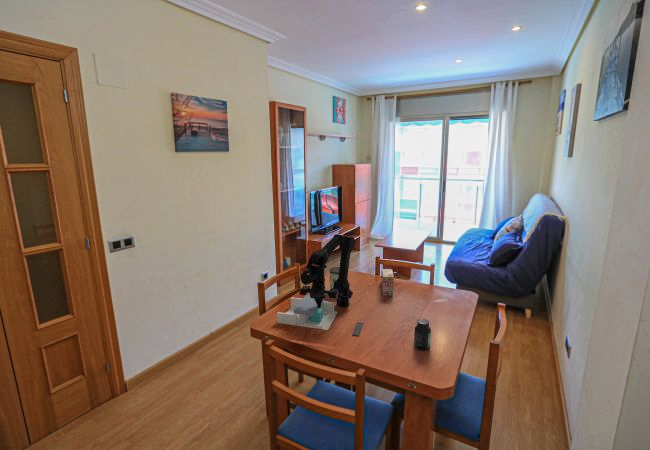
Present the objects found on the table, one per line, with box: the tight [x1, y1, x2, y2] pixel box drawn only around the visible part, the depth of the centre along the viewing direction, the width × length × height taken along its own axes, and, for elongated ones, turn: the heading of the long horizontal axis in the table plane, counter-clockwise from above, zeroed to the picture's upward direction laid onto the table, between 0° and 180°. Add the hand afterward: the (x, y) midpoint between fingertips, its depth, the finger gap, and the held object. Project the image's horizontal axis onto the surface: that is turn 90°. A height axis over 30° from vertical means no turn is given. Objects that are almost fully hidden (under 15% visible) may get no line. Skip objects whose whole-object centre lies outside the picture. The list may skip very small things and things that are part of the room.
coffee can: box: [328, 266, 340, 290], centre depth 204 cm, size 10×10×14 cm
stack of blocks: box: [380, 268, 395, 297], centre depth 207 cm, size 21×6×12 cm, turn 173°
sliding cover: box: [294, 294, 325, 316], centre depth 170 cm, size 10×18×2 cm, turn 164°
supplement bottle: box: [413, 318, 432, 351], centre depth 145 cm, size 7×7×12 cm
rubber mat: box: [352, 321, 364, 337], centre depth 162 cm, size 12×12×1 cm
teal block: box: [311, 309, 323, 323], centre depth 168 cm, size 5×5×5 cm
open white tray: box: [276, 296, 338, 331], centre depth 171 cm, size 26×19×6 cm
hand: (319, 307), depth 167 cm, fingers closed
